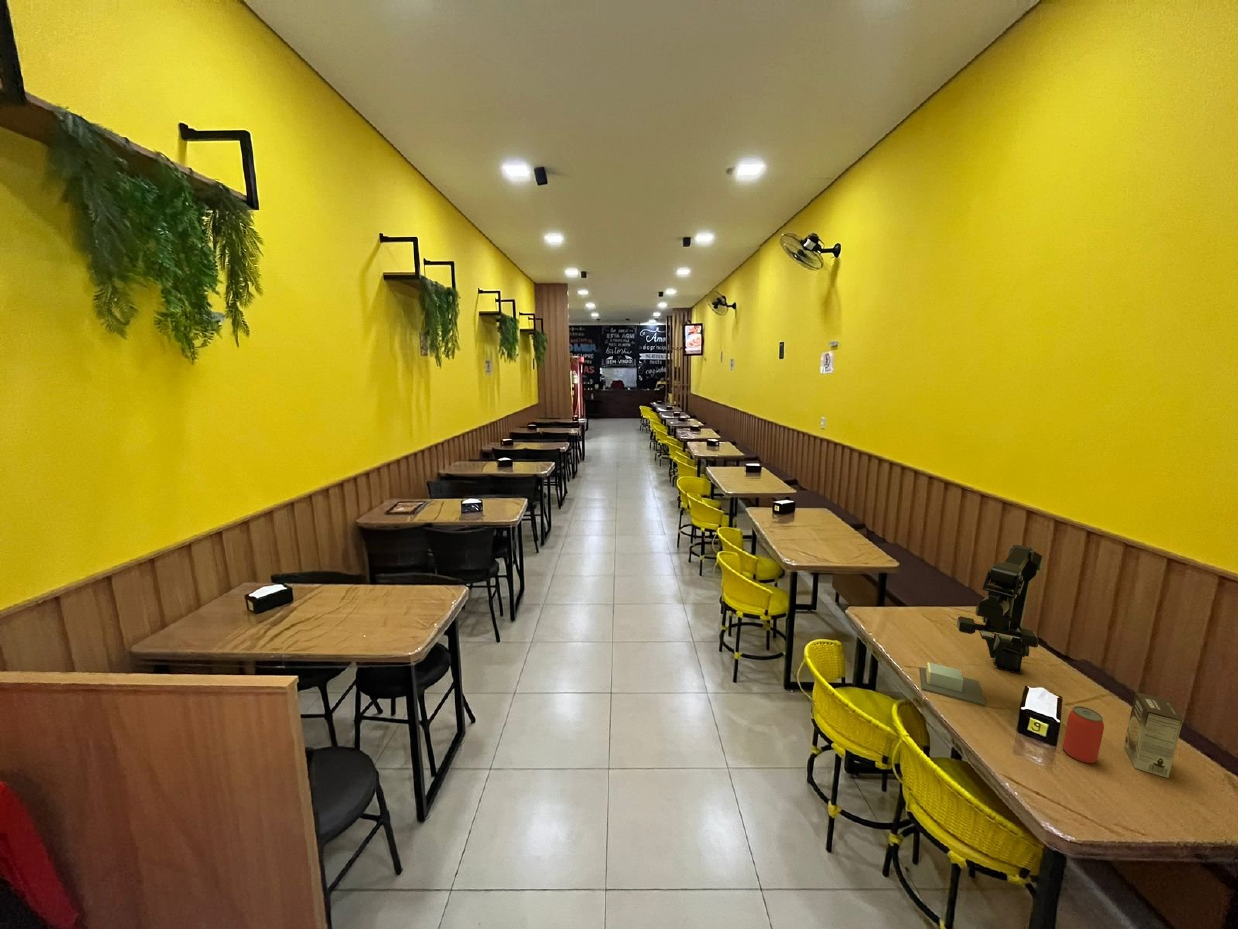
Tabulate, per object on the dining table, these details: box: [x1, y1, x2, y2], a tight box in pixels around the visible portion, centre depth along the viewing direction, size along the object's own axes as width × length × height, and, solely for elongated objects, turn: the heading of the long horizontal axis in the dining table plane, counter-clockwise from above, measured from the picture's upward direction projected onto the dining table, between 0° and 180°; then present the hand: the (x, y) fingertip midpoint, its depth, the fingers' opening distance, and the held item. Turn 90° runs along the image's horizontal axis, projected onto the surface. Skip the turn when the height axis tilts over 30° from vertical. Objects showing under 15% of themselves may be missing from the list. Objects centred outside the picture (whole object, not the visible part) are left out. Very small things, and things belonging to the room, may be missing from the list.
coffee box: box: [1123, 692, 1184, 779], centre depth 123 cm, size 9×6×16 cm
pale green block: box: [926, 661, 963, 692], centre depth 155 cm, size 4×6×9 cm
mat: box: [919, 666, 987, 707], centre depth 154 cm, size 16×13×1 cm
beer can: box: [1062, 705, 1105, 764], centre depth 126 cm, size 7×7×12 cm
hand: (991, 657), depth 148 cm, fingers closed
